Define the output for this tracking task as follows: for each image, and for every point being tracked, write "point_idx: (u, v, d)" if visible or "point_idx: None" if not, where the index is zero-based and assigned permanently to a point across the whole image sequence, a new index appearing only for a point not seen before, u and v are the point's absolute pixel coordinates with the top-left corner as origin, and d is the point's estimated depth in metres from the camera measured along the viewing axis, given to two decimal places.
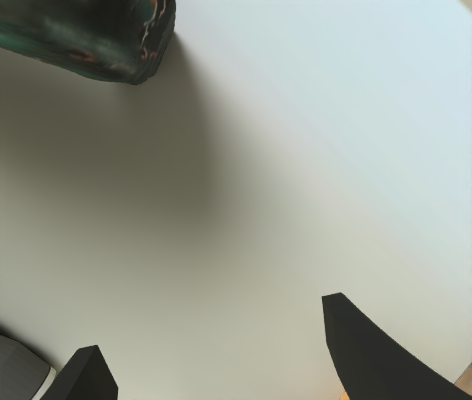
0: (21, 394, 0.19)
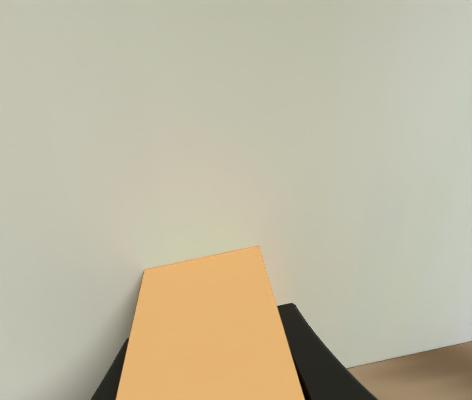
0: None
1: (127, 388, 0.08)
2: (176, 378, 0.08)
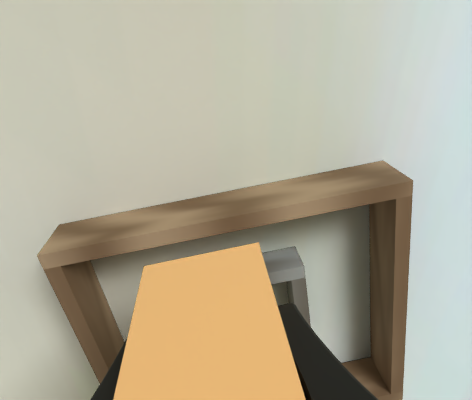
0: None
1: (126, 383, 0.08)
2: (175, 373, 0.08)
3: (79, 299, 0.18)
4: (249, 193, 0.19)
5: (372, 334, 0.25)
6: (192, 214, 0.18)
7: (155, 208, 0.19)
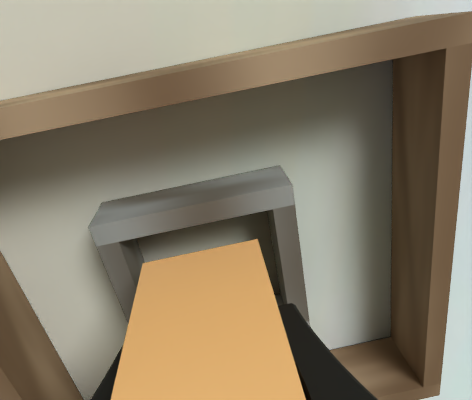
0: None
1: (124, 378, 0.08)
2: (173, 369, 0.08)
3: None
4: (200, 61, 0.12)
5: (394, 303, 0.18)
6: (99, 84, 0.10)
7: (52, 91, 0.12)
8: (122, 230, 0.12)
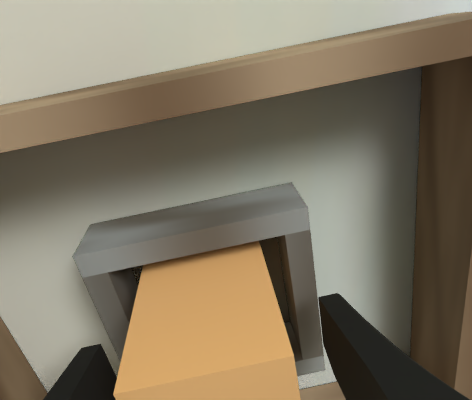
0: None
1: (133, 341, 0.09)
2: (177, 333, 0.09)
3: None
4: (202, 66, 0.10)
5: (415, 331, 0.16)
6: (82, 94, 0.09)
7: (30, 100, 0.10)
8: (112, 259, 0.11)
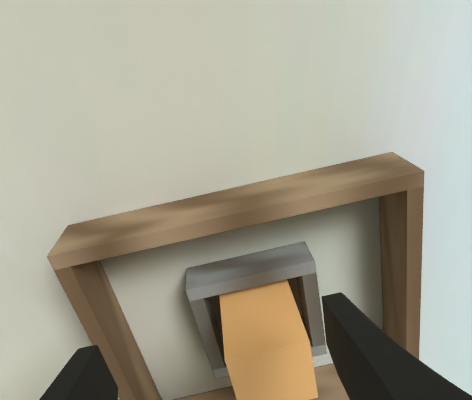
0: None
1: (227, 336, 0.18)
2: (249, 331, 0.18)
3: (89, 299, 0.18)
4: (257, 189, 0.19)
5: (385, 329, 0.24)
6: (200, 211, 0.18)
7: (163, 206, 0.19)
8: (206, 291, 0.20)
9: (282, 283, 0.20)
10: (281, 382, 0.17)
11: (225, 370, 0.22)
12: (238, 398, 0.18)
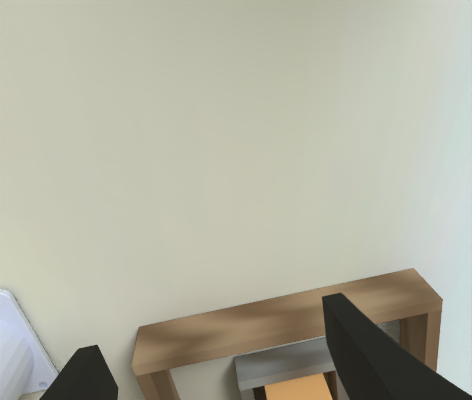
0: None
1: None
2: None
3: (160, 395, 0.22)
4: (301, 302, 0.22)
5: None
6: (256, 325, 0.21)
7: (221, 313, 0.23)
8: (254, 383, 0.23)
9: (317, 374, 0.24)
10: None
11: None
12: None
